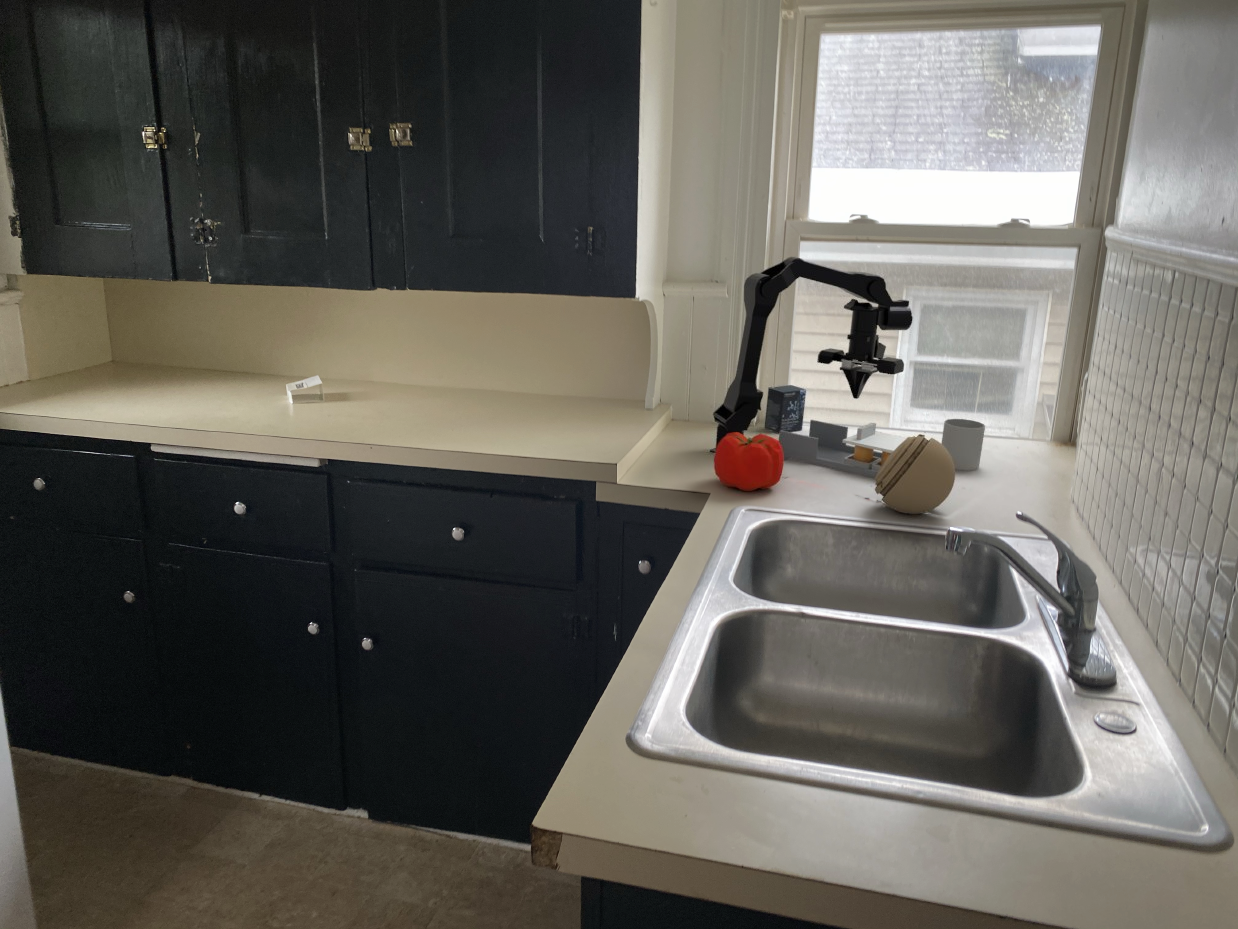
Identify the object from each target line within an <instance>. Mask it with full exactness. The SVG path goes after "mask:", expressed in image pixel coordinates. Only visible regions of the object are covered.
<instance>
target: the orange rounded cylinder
mask: <svg viewBox="0 0 1238 929" xmlns="http://www.w3.org/2000/svg"><path fill="white" fill-rule="evenodd" d="M854 447H855V450H854V459H853V460H857V461H861V462H866V463H870V462H872V460H873V451H875V449H870V448H865V447H861V446H856V445H854Z"/></svg>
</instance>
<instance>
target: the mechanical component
mask: <svg viewBox="0 0 1238 929" xmlns="http://www.w3.org/2000/svg"><path fill="white" fill-rule="evenodd" d="M907 437H908V438H907V439H906V440H904V441H903V442H902V443H901V444H900V445H899V446H898V447H897V448H896V449H895V450H894V451H893V452H892V454H891V455H890V456H889V457H888V458H887V460H886V461H885V463H884V464H883V465H882V467H881V469H880V470H879V472H878V474H877V476H876V477H875V478H874V481H875V488H874V492H875V493H876V495H879V494H880V495H881V496H882V498H881V501H882V502H883V504H884V505H886V506H888V507H889V508H891V509H893V510H894V511H896V512H899V513H902V512H903V514H907V513H909V515H910V514H911V515H917V514H924V513H927V512H929V511H930V512H931V511H932V510H934V509H936V508H938V507H939V506H940V505H941V504H943V503H944V501H946V500H947V498H948V497H949V495H950V494H951V492H952V490H953V488H954V485H955V480H956V469H955V467H954V463H953V460H952V457H951V455H950V454H949V452H948V451H947V449H946V448H945V447H944V446H943V445H942V444H941V443H942V442H939V440H937V439H935V438H933V437H931V438H930V439H927V438H926V435H925V434H921V433H919V434H917V436H915V435H913V436H907Z"/></svg>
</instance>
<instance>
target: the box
mask: <svg viewBox="0 0 1238 929" xmlns="http://www.w3.org/2000/svg"><path fill="white" fill-rule="evenodd" d="M806 394H807V389H806V388H802V387H799V386H796V385H793V384H789V385H781V386H780V385H779V386H773V387H772V386H771V387H768V390H767V399H766V400H767V401H766V407H765V408H766V409H765V419H764V420H765V421H764V429H766V430H768V431H771V432H774V433H776V434H779V433H780V431H781V430H782V431H786V432H795V431H796V432H797V431H803V424H804V414H805V405H806V396H807V395H806Z"/></svg>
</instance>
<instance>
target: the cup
mask: <svg viewBox="0 0 1238 929" xmlns="http://www.w3.org/2000/svg"><path fill="white" fill-rule="evenodd" d="M985 429H986V425H985V424H984V423H982V422H980V421H977V420H971V419H965V418H947V419H945V420H944V422H943V430H942V436H941V442H940V443H941V444H942V445H943V446H944V447H945V448H946V449H947V451H948V452H949V454H950V455H951V457H952V460H953V463H954V467H955V470H959V471H975V470H978V469H979V468H980V464H981V456H982V450H983V443H984V439H985V438H984V436H985V432H986V431H985Z"/></svg>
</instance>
